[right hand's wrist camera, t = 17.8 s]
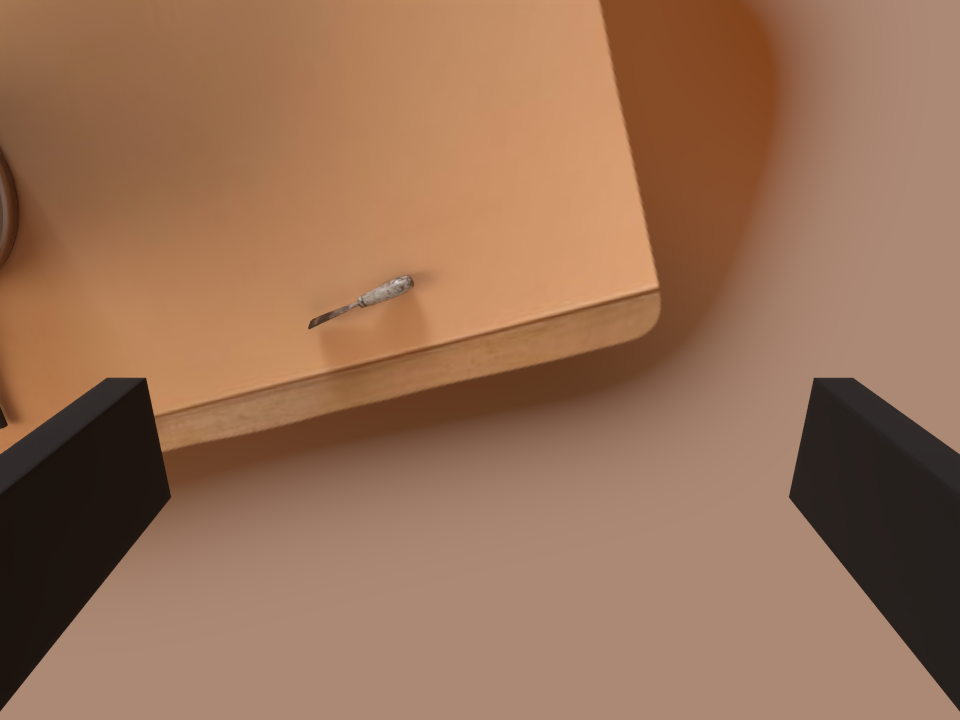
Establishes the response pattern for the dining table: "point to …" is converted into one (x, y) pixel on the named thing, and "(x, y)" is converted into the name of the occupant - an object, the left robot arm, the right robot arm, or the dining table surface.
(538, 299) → the dining table surface
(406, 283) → the putty knife
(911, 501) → the right robot arm
